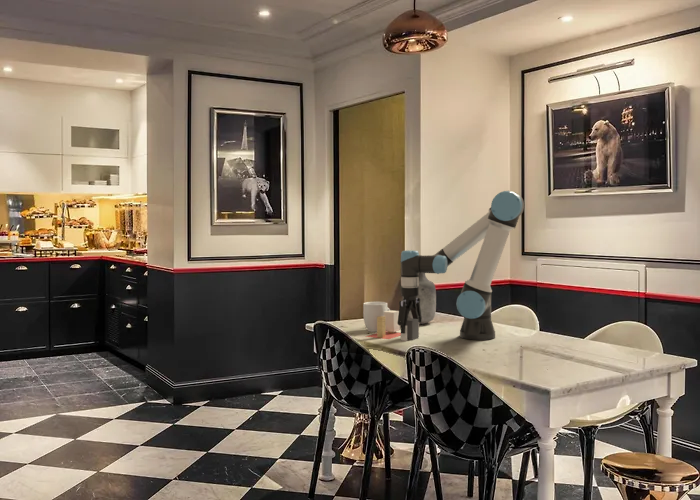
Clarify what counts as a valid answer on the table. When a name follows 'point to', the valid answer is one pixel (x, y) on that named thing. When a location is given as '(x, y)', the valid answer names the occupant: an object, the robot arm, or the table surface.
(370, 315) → the mug
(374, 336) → the stand
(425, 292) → the vase
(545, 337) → the table surface
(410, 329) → the dark gray block
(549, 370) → the table surface
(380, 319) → the post
